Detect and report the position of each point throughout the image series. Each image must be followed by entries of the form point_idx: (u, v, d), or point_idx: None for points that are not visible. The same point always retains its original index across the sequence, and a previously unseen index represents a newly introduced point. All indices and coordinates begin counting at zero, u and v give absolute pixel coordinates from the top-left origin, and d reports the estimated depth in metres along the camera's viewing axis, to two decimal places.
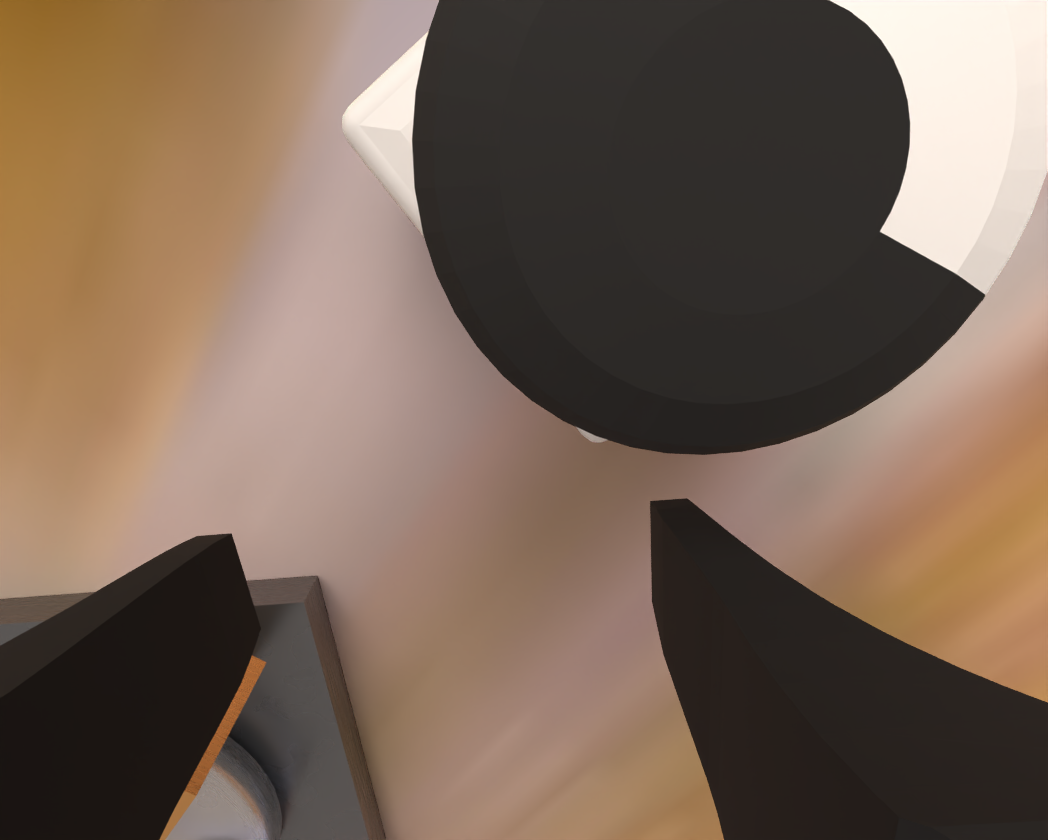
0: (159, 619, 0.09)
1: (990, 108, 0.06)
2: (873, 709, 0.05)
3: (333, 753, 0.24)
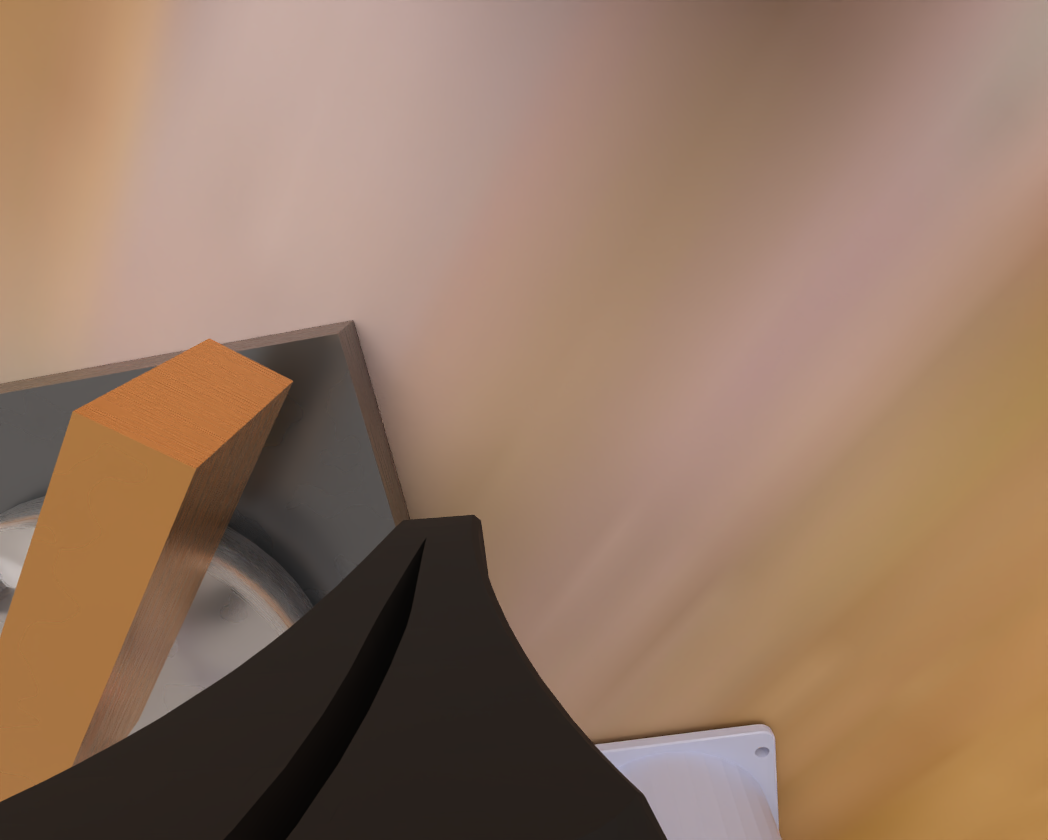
0: (411, 601, 0.08)
1: None
2: (418, 737, 0.05)
3: None
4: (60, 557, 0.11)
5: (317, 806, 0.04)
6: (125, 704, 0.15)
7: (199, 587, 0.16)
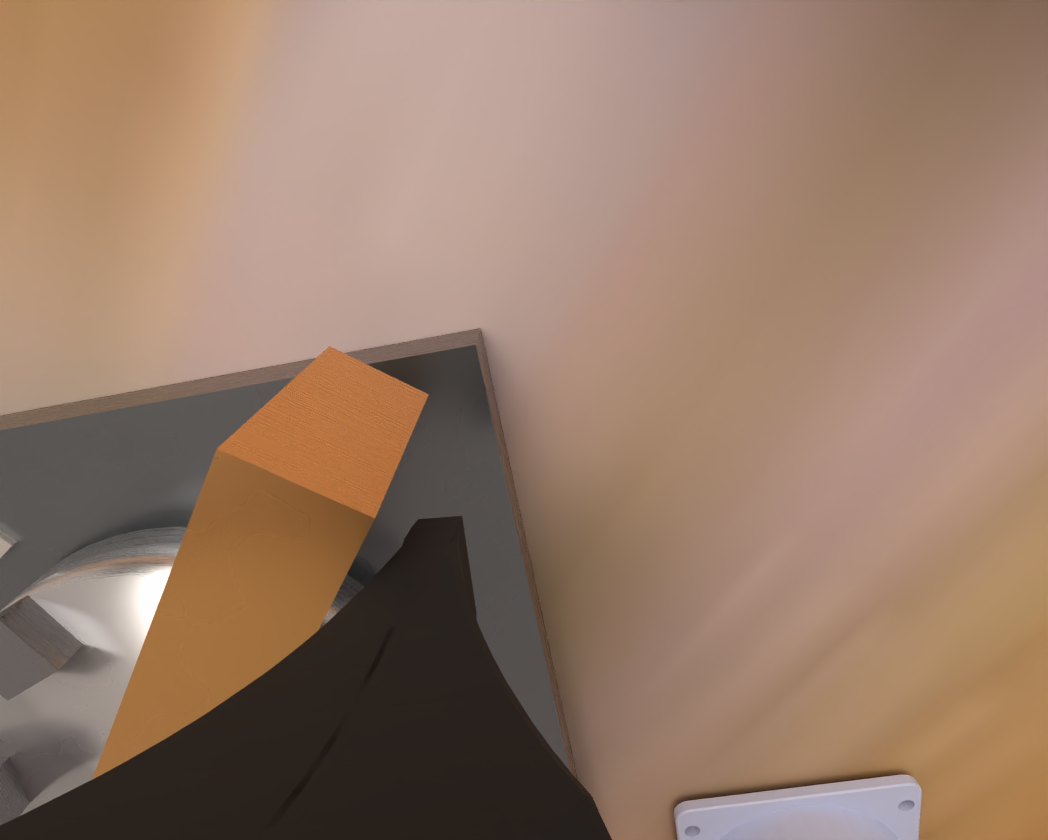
0: None
1: None
2: (376, 741, 0.05)
3: (516, 607, 0.16)
4: (191, 634, 0.08)
5: (268, 808, 0.04)
6: None
7: None
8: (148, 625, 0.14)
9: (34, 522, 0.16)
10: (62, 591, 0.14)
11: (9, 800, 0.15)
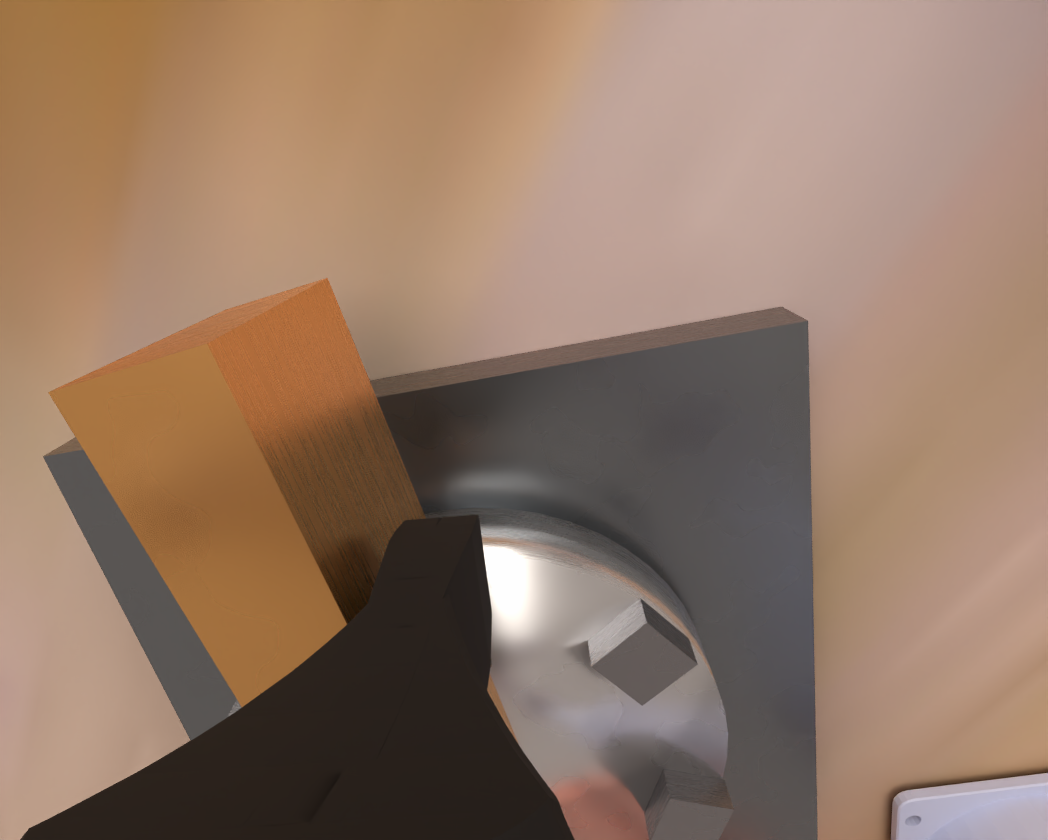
0: (460, 598, 0.08)
1: None
2: (347, 742, 0.05)
3: (795, 591, 0.16)
4: (205, 578, 0.08)
5: (234, 811, 0.04)
6: None
7: None
8: None
9: None
10: None
11: None
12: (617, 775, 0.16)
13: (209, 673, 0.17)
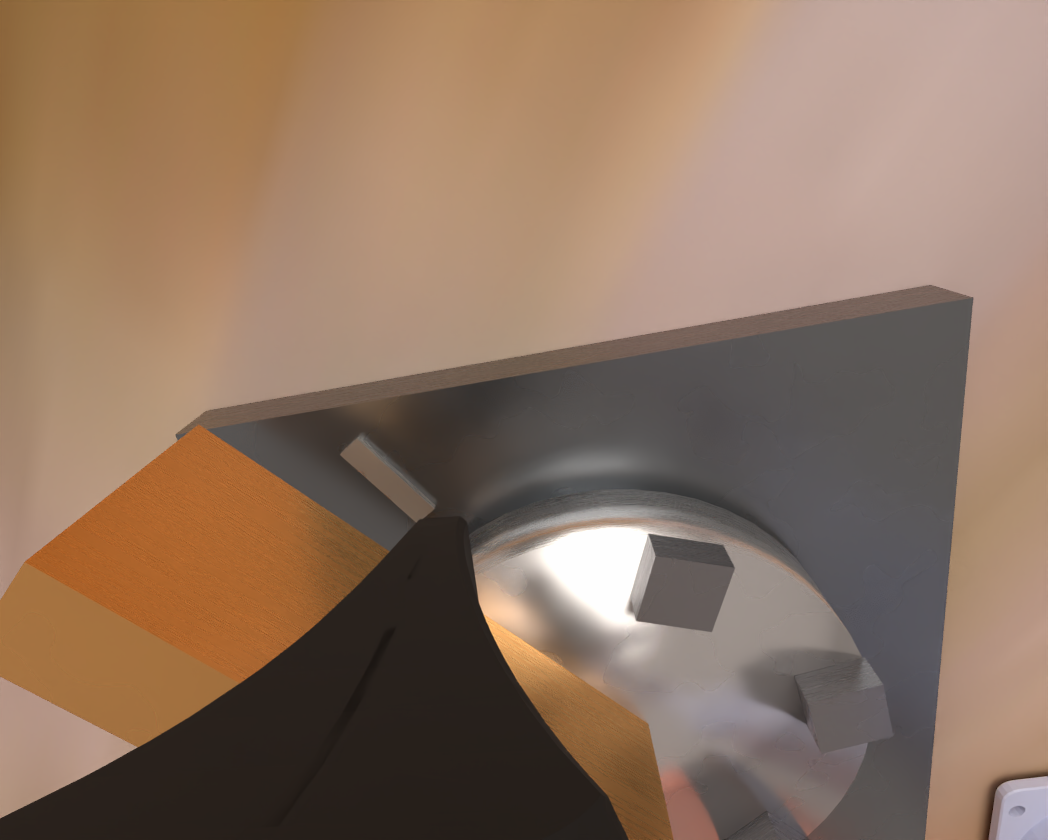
0: None
1: None
2: (390, 739, 0.05)
3: (930, 576, 0.16)
4: None
5: (283, 808, 0.04)
6: None
7: None
8: None
9: (457, 485, 0.15)
10: None
11: None
12: (754, 702, 0.15)
13: None
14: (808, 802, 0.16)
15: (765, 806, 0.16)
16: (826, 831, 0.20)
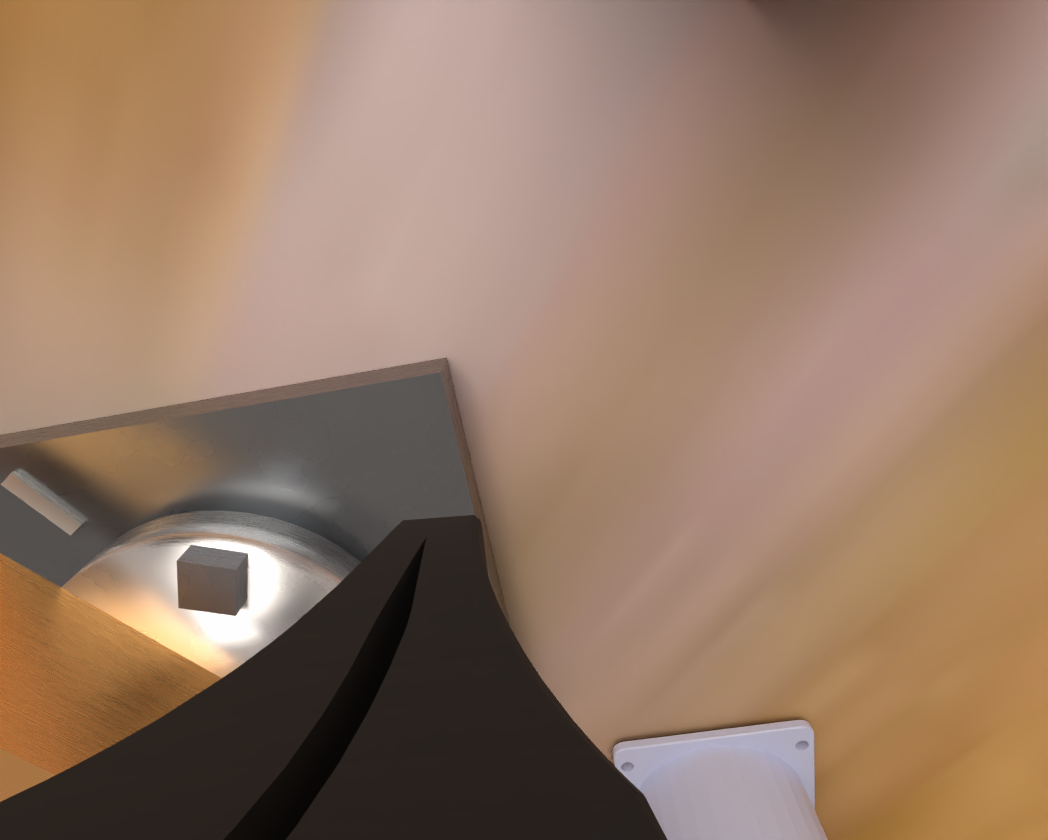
0: (411, 601, 0.08)
1: None
2: (418, 737, 0.05)
3: None
4: None
5: (317, 806, 0.04)
6: (84, 688, 0.17)
7: (74, 596, 0.18)
8: None
9: (98, 506, 0.20)
10: None
11: None
12: None
13: None
14: None
15: None
16: None
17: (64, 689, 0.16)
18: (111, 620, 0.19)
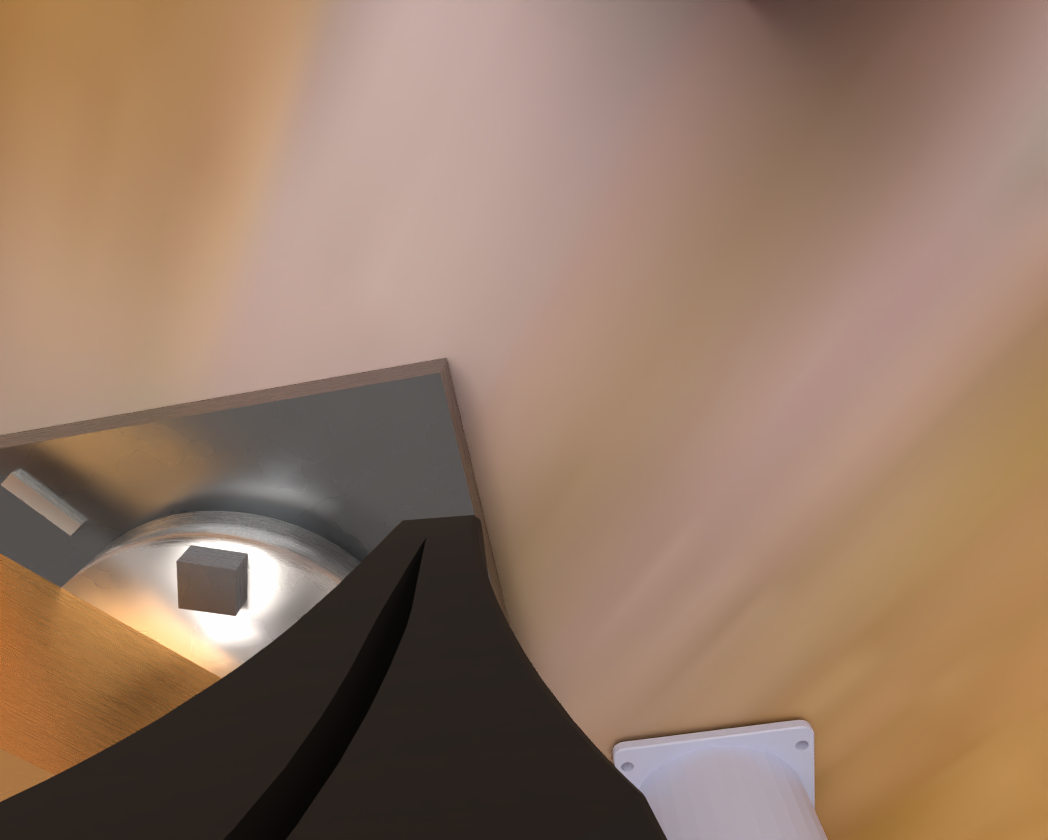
0: (411, 601, 0.08)
1: None
2: (417, 738, 0.05)
3: None
4: None
5: (317, 806, 0.04)
6: (84, 688, 0.17)
7: (74, 596, 0.18)
8: None
9: (98, 507, 0.20)
10: None
11: None
12: None
13: None
14: None
15: None
16: None
17: (64, 689, 0.16)
18: (111, 620, 0.19)
